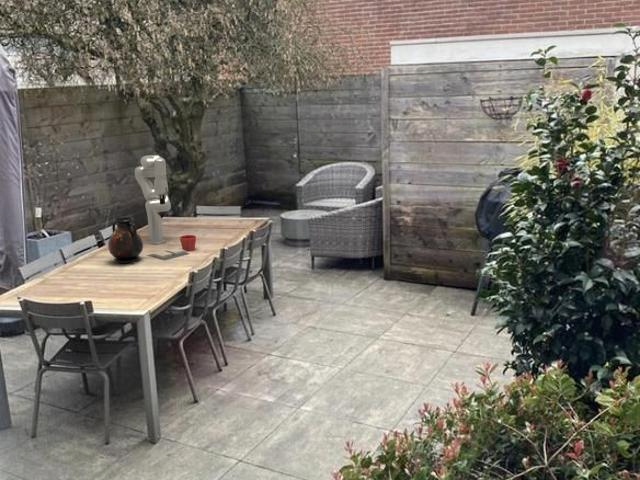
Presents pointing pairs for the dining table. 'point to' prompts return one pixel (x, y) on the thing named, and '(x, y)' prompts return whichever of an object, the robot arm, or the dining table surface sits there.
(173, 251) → the tile
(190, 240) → the flower pot
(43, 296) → the dining table surface
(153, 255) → the mat
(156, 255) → the tile
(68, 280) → the dining table surface
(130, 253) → the amphora vase
